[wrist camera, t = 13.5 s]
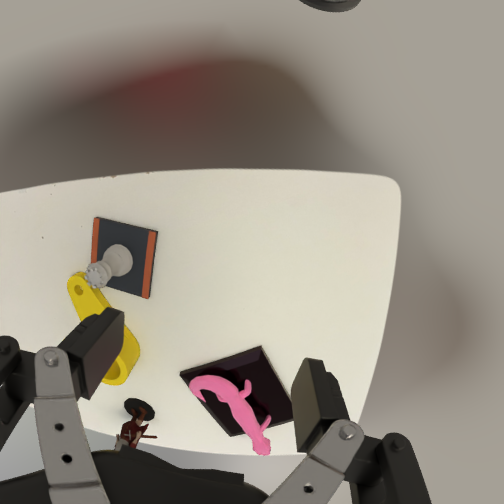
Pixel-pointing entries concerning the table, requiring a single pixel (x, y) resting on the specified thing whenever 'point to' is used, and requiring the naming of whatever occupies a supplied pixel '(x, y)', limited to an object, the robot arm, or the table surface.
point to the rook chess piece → (109, 266)
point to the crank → (95, 303)
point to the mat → (140, 248)
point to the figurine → (135, 423)
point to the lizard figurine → (242, 395)
